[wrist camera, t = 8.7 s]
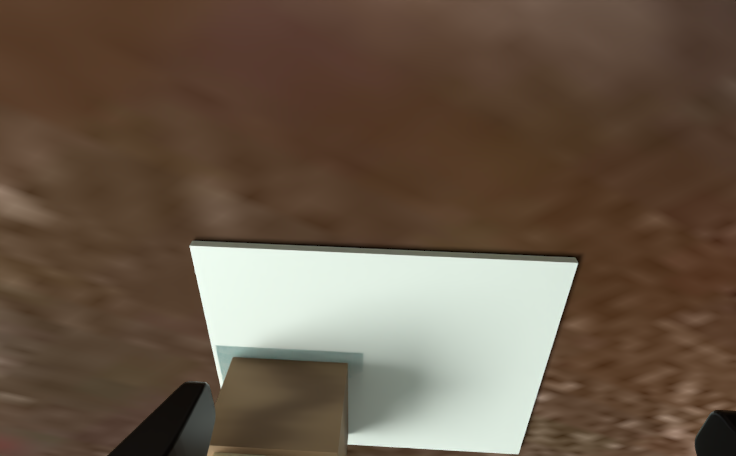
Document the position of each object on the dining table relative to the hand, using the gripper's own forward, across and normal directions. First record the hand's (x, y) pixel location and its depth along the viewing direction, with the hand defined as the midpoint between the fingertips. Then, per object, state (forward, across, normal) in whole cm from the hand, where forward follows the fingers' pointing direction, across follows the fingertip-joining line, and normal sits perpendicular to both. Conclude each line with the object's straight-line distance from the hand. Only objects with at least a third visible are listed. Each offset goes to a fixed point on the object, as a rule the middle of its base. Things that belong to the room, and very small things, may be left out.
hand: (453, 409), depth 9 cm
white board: (+12, +2, +12) cm, 17 cm away
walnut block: (+12, +6, +15) cm, 20 cm away
